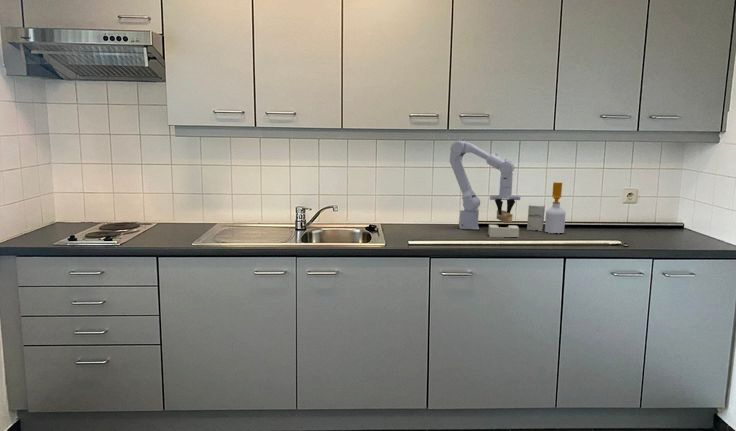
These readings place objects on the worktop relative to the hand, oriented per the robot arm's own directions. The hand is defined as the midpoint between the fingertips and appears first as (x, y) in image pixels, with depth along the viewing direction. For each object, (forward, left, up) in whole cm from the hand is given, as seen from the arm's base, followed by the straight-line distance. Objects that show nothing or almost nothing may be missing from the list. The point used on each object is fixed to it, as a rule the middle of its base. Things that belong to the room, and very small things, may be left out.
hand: (503, 214), depth 267 cm
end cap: (-1, -11, -8) cm, 14 cm away
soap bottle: (+25, +3, -9) cm, 26 cm away
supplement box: (+17, +9, -9) cm, 21 cm away
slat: (0, -1, -3) cm, 3 cm away
